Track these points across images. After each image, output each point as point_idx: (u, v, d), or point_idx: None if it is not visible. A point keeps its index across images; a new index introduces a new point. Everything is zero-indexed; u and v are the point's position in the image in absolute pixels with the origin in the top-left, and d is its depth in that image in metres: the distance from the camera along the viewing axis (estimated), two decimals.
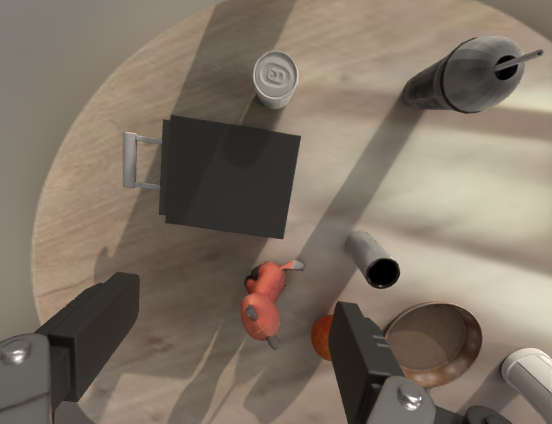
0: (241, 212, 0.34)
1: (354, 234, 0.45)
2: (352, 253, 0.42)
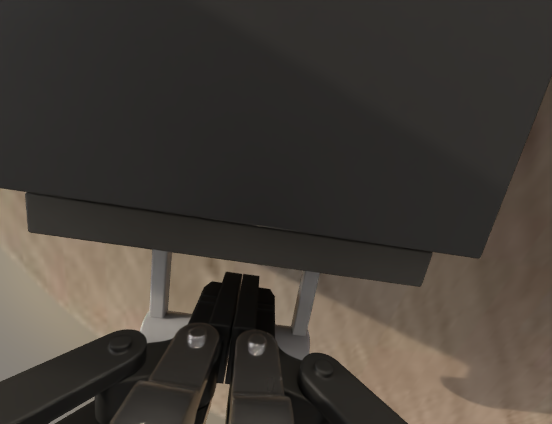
0: None
1: None
2: None
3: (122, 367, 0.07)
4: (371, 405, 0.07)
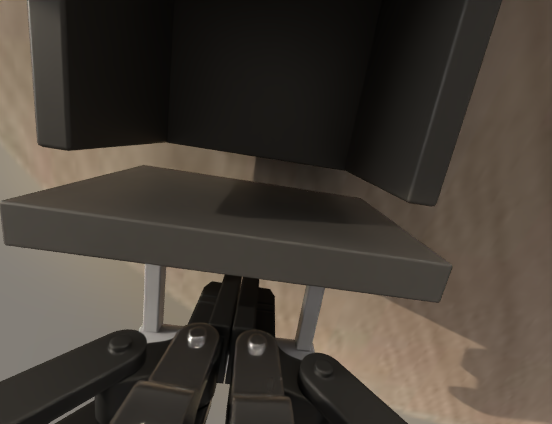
0: None
1: None
2: None
3: (122, 367, 0.07)
4: (371, 405, 0.07)
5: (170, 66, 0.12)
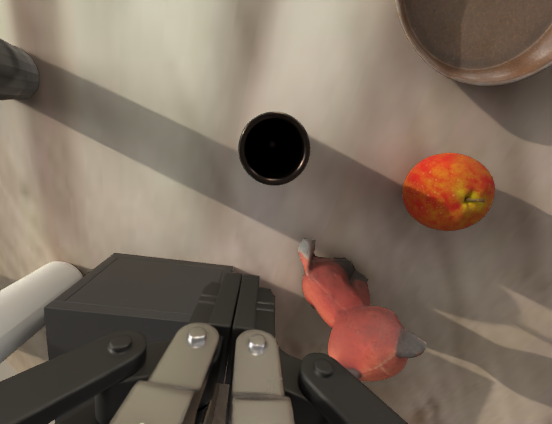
0: None
1: None
2: None
3: (122, 367, 0.07)
4: (371, 405, 0.07)
5: None
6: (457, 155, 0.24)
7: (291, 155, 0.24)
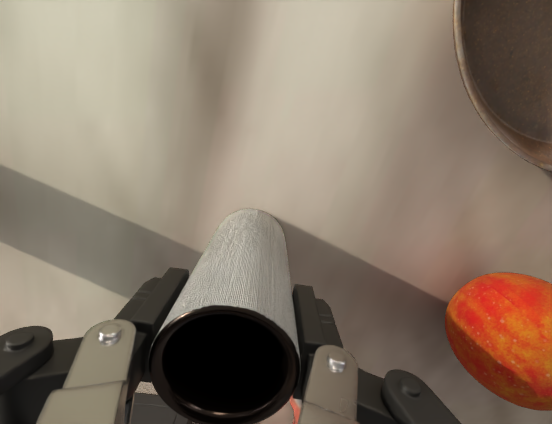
0: None
1: None
2: None
3: (16, 365, 0.06)
4: None
5: None
6: (546, 292, 0.14)
7: None
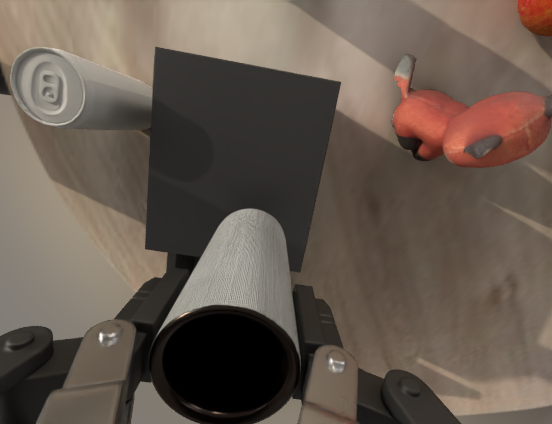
0: (287, 156, 0.21)
1: None
2: None
3: (16, 365, 0.06)
4: None
5: None
6: None
7: None
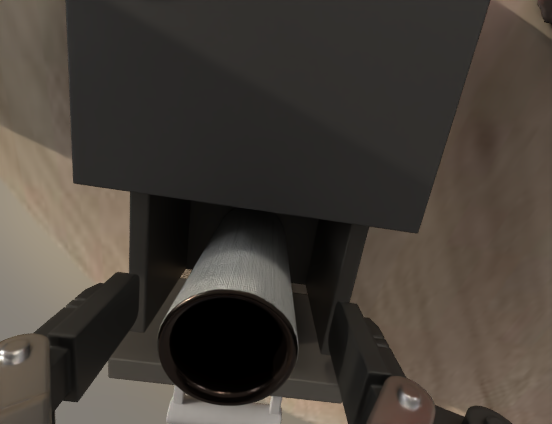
0: None
1: None
2: None
3: None
4: None
5: (188, 225, 0.18)
6: None
7: None
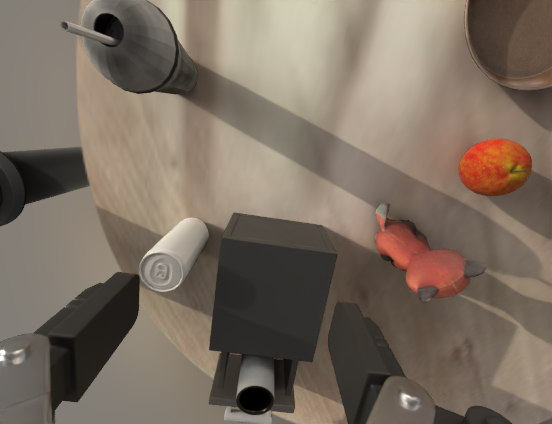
0: (303, 295, 0.32)
1: None
2: None
3: None
4: None
5: None
6: (504, 140, 0.33)
7: None
